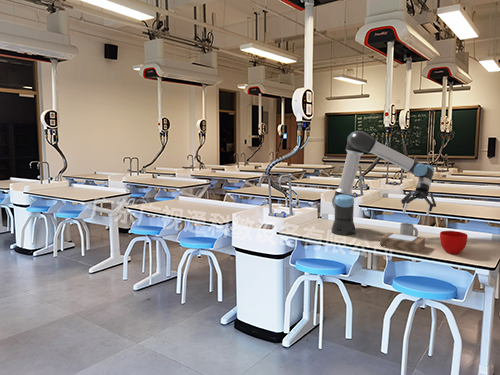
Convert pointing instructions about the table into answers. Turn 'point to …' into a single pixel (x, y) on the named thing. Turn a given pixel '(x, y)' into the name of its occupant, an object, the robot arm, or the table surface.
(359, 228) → the table surface
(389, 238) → the plinth
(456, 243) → the ceramic cup
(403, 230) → the cup
